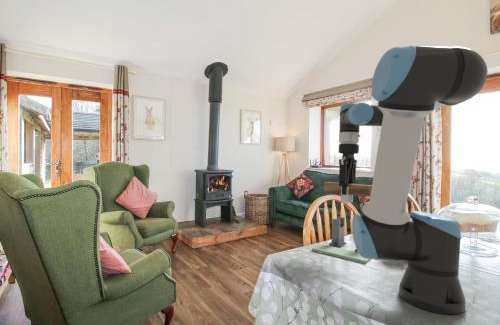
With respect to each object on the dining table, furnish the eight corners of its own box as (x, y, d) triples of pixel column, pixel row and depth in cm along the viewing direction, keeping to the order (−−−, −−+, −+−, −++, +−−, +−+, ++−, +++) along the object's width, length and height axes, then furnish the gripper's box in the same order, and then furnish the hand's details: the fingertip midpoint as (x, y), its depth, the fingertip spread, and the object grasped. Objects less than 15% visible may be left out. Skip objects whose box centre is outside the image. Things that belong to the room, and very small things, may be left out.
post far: (340, 247, 120) (341, 220, 119) (329, 245, 123) (330, 218, 122) (346, 244, 125) (347, 218, 125) (335, 241, 128) (336, 216, 128)
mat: (366, 264, 102) (366, 261, 102) (311, 250, 115) (312, 248, 115) (372, 258, 109) (372, 255, 109) (320, 246, 122) (320, 243, 122)
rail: (369, 196, 107) (369, 185, 107) (323, 192, 118) (323, 182, 118) (372, 195, 110) (372, 185, 110) (327, 191, 121) (328, 181, 121)
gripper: (350, 142, 104) (348, 205, 105) (365, 144, 118) (363, 201, 118) (331, 142, 109) (328, 203, 109) (347, 144, 123) (345, 199, 123)
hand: (346, 202), depth 114 cm, fingers closed on rail, 4 cm apart
